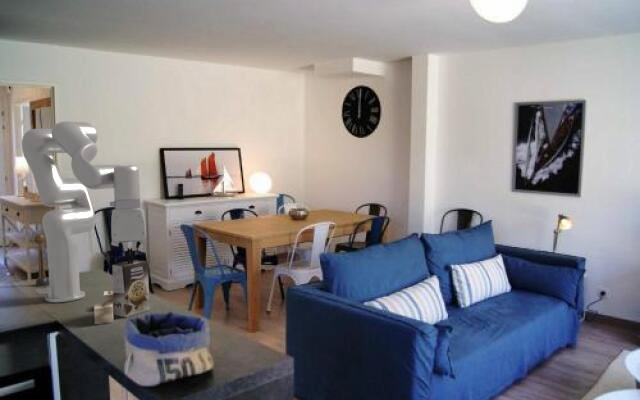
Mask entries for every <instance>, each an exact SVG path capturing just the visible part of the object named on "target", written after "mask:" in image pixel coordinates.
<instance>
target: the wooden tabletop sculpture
mask: <svg viewBox="0 0 640 400" xmlns="http://www.w3.org/2000/svg"><path fill="white" fill-rule="evenodd" d="M33 242H34V243H35V244H37V245H38V247H37V248H38V249H37V250H38V277H37V279H36V281H35V286H36V287H48V286H49V285H50V284H49V277H47V276H46V275H47V274H46V273H45V265H44V253H43V246H42V244H44V243H45V242H46V236H45V234H41V233H40V234H36V235H35V236H34V238H30V239H29V243H33Z"/></svg>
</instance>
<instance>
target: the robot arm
mask: <svg viewBox="0 0 640 400" xmlns="http://www.w3.org/2000/svg"><path fill="white" fill-rule="evenodd" d="M97 141H98V132H97V129H96V128H95V126H94V125H92V124H91V123H89V122H86V121H85V122H84V121H61V122H60V121H59V122H58V123H56V124H54V126H53V127H52V128H33V129H30V130H27V131H26V132H25V133H24V134H23V136H22V140H21V150H22V151H21V152H22V154H23V156H24V159H25V160H26V163H27V164H28V166H29V168H30V170H31V173H32V176H33V179H34V183H35V186H36V190H37V193H38V196H39V199H40V202H41V203H42V204H43V205H44V206H46V207H62V208H56V209H52V210H51V209H50V210H49V211H47V212H46V213H45V214H44V215H43V217H42V220H41V221H42V228H43V231H44V236H45V242H46V251H47V265H48V280H49V285H48V286H45V287H46V288H36V289H35V295H38V296H43V295H45V297H44V300H45V301H46V302H48V303H66V302H73V301H77V300H79V299H80V300H81V299H82V298H84V297H85V296H86V292H85V291H83V290H81V286H80V283H81V282H80V270H79V269H80V268H79V266H80V265H79V264H80V263H79V250H78V245H77V243H76V242H75V240H74V239H73V238H72V235H79V234H86V233H89V232H91V231H92V230H93V229H95V227H96V223H97V220H96V213H95V210H94V208H93V207H94V206H93V204H92V201H91V198H90V193H89V189H90V190H94V191H95V190H105V189H107V190H108V189H110V190H111V189H113V195H114V197H113V198H114V199H113V201H110V202H109V207H113V208H114V209H112V212H111V221H110V222H111V224H110V225H111V228H110V230H111V243H110V245H111V246H114V247H119V248H121V249H122V250H123V251H124V257H125V258H124V259H125V260H124V261H125V262H128V264H130V261H131V263H133V261H134V260H136V250H137V249H138V248H139V247H140V246H141V245H144V244H147V243H148V238H147V225H146V215H145V211H144V209H143V208H141V191H140V190H141V189H140V171H139V168H138V167H137V166H136V165H131V164H130V165H121V164H94V165H93V164H92V163H90V162H91V161H93V160H94V158H95V157H96V156H97V154H98V146H97V144H96V143H97ZM48 154H67V155H68V156H69V157H70V158H71V161H70V162H71V164H70V165H71V169H72V174H73V175H74V177H75V178H64V177H63V176H62V174H61V171H60V167H59V165H58V164H57V163H56V161H54V159H53V158H51V157H50V156H49V155H48ZM87 188H88V189H87ZM64 206H65V207H64ZM66 206H70V207H66ZM63 207H64V208H63ZM129 242H131V247H130V248H129V246H128V243H129Z"/></svg>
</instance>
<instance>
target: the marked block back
mask: <svg viewBox="0 0 640 400" xmlns="http://www.w3.org/2000/svg"><path fill="white" fill-rule="evenodd" d="M111 302H113V310H114V297H113V290H104V291H103V303H111Z"/></svg>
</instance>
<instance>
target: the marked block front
mask: <svg viewBox="0 0 640 400" xmlns="http://www.w3.org/2000/svg"><path fill="white" fill-rule="evenodd" d="M93 312H94V313H93V314H94V316H93V317H94V325H95V324H98V325H104V324H103V323H107V324H113V323H114V309H113V302H111V303H104V302H103V303H95V304H94V307H93Z"/></svg>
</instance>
